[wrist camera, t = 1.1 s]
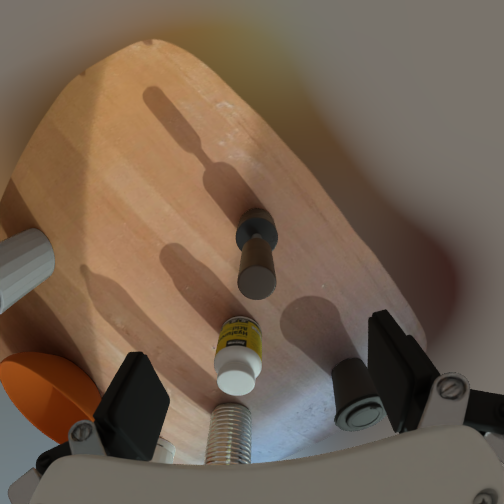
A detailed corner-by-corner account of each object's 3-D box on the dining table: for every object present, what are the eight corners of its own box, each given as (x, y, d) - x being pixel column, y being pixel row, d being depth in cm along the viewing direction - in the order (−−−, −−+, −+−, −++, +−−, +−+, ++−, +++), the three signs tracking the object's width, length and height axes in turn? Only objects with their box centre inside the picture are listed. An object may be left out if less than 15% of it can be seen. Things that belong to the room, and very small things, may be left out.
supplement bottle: (250, 308, 35) (248, 359, 26) (268, 339, 36) (270, 392, 27) (213, 323, 36) (200, 374, 26) (232, 352, 37) (226, 404, 28)
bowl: (67, 418, 47) (52, 446, 37) (8, 333, 39) (-18, 359, 30) (148, 425, 44) (135, 464, 35) (79, 322, 37) (46, 360, 27)
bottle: (156, 432, 45) (123, 547, 19) (183, 451, 47) (161, 559, 21) (133, 438, 47) (99, 539, 20) (159, 455, 49) (134, 553, 22)
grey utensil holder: (18, 260, 34) (-30, 290, 22) (25, 218, 31) (-30, 242, 20) (50, 288, 35) (3, 326, 24) (59, 246, 33) (4, 279, 21)
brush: (232, 230, 32) (212, 291, 18) (251, 201, 31) (246, 239, 16) (261, 249, 32) (265, 321, 18) (281, 220, 31) (302, 274, 17)
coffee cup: (373, 344, 37) (397, 391, 27) (371, 380, 39) (391, 425, 30) (320, 358, 38) (334, 410, 28) (324, 393, 40) (336, 441, 31)
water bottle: (256, 421, 43) (255, 549, 19) (219, 425, 43) (204, 547, 20) (246, 398, 40) (240, 543, 17) (206, 403, 41) (183, 539, 17)
